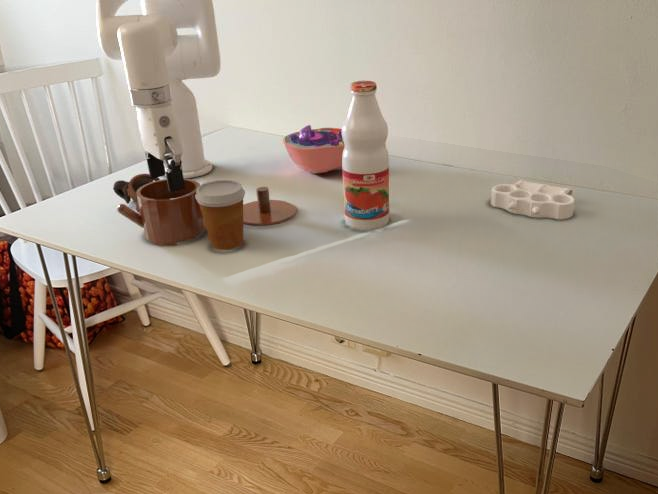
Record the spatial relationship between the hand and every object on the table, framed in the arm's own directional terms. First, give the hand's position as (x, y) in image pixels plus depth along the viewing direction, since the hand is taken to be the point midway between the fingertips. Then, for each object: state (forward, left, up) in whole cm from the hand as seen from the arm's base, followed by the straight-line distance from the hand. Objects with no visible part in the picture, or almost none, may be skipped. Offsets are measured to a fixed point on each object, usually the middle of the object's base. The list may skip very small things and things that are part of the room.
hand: (167, 183), depth 142 cm
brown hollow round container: (0, 0, -11) cm, 11 cm away
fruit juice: (+21, +34, -11) cm, 41 cm away
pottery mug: (-19, 0, -11) cm, 22 cm away
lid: (+4, +19, -10) cm, 22 cm away
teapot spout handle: (0, 0, -9) cm, 9 cm away
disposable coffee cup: (+13, +5, -11) cm, 18 cm away
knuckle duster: (+37, +67, -11) cm, 77 cm away
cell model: (-12, +45, -11) cm, 48 cm away
